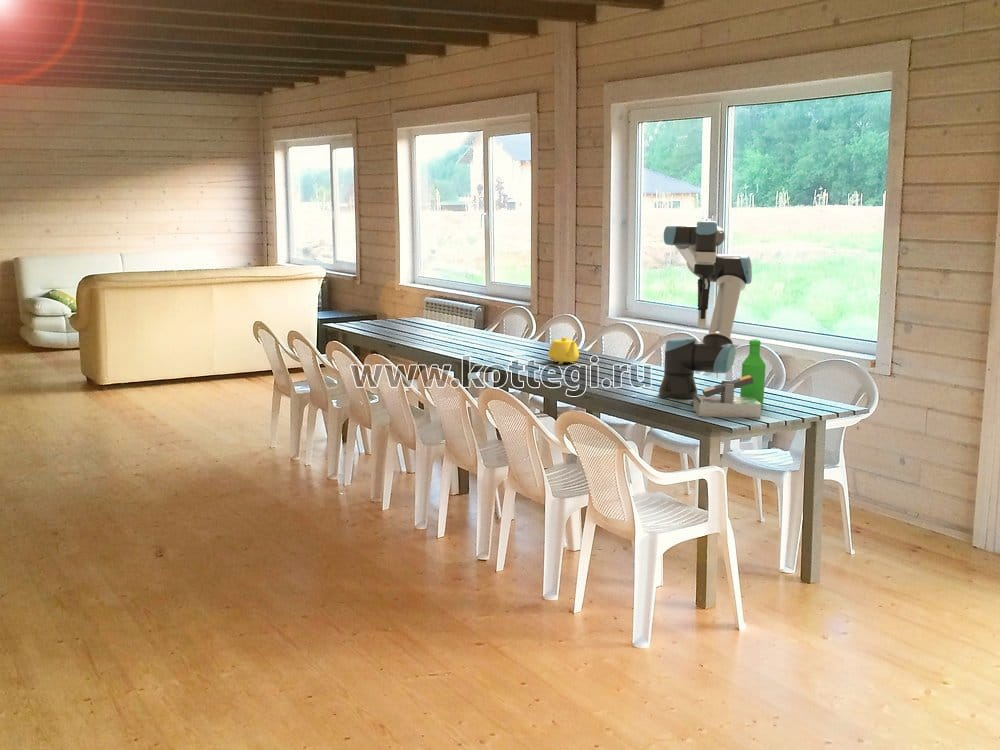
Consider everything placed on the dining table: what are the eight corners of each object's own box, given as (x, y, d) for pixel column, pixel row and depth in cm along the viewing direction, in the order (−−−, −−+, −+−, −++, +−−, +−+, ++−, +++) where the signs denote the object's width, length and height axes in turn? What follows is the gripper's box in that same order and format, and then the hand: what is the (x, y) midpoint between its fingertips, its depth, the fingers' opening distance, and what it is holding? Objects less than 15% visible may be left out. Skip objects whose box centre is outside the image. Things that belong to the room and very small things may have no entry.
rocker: (703, 394, 373) (701, 388, 373) (750, 380, 371) (749, 374, 371) (705, 397, 367) (704, 391, 367) (754, 383, 366) (752, 377, 366)
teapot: (562, 367, 470) (562, 340, 468) (541, 361, 488) (542, 335, 486) (587, 365, 476) (587, 339, 474) (566, 359, 494) (566, 334, 492)
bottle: (736, 402, 392) (740, 338, 388) (758, 402, 393) (762, 338, 389) (743, 406, 384) (747, 341, 379) (766, 406, 384) (770, 341, 380)
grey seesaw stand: (693, 408, 378) (694, 378, 376) (752, 410, 378) (754, 380, 376) (699, 416, 364) (700, 385, 362) (760, 417, 364) (762, 386, 362)
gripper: (691, 262, 378) (688, 325, 382) (697, 264, 365) (694, 329, 369) (712, 262, 377) (708, 325, 381) (718, 264, 365) (714, 329, 368)
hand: (701, 327), depth 375 cm, fingers closed
